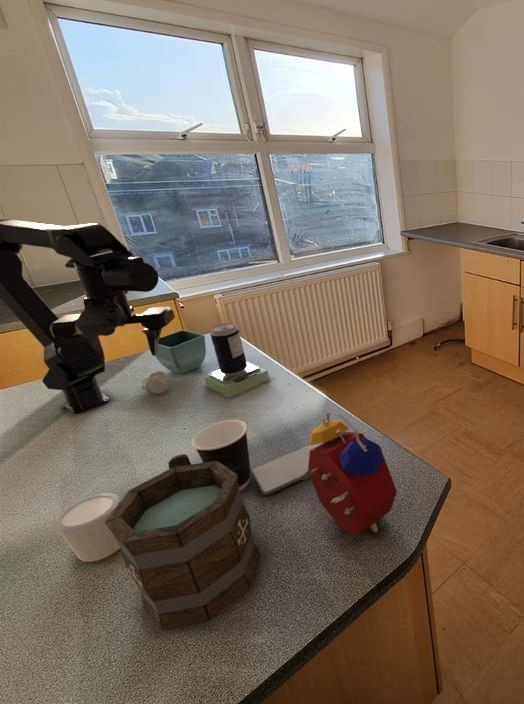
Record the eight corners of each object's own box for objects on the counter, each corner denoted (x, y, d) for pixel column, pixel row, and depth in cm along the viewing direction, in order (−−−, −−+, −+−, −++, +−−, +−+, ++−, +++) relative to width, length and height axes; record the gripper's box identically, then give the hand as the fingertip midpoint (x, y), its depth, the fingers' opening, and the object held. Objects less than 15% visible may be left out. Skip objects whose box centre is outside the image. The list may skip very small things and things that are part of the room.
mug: (268, 590, 58) (244, 506, 53) (141, 654, 51) (97, 564, 45) (248, 500, 73) (228, 427, 67) (147, 539, 66) (114, 461, 60)
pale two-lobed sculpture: (148, 388, 107) (170, 377, 109) (148, 402, 101) (171, 390, 103) (136, 375, 105) (159, 364, 107) (135, 389, 99) (159, 376, 101)
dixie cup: (228, 507, 72) (212, 454, 67) (197, 492, 74) (180, 440, 70) (270, 476, 78) (257, 426, 74) (240, 463, 81) (226, 415, 77)
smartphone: (349, 454, 83) (263, 494, 73) (349, 459, 83) (264, 498, 73) (330, 435, 88) (249, 468, 78) (331, 438, 88) (250, 473, 79)
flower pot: (213, 364, 117) (205, 334, 113) (180, 379, 109) (170, 348, 106) (191, 358, 119) (182, 329, 116) (157, 373, 112) (147, 342, 108)
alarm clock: (401, 526, 69) (390, 422, 61) (354, 565, 62) (335, 454, 55) (347, 484, 77) (331, 388, 69) (300, 515, 70) (277, 412, 63)
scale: (206, 386, 106) (203, 375, 105) (246, 369, 114) (244, 359, 113) (229, 398, 102) (226, 387, 100) (269, 379, 110) (267, 369, 109)
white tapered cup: (98, 570, 61) (80, 534, 58) (60, 561, 62) (40, 525, 59) (145, 530, 67) (131, 496, 64) (109, 523, 68) (94, 489, 66)
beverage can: (242, 363, 110) (231, 320, 106) (251, 370, 107) (241, 326, 102) (217, 371, 106) (205, 327, 102) (226, 379, 103) (214, 333, 98)
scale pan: (208, 375, 105) (207, 373, 105) (242, 362, 112) (242, 360, 112) (225, 384, 102) (225, 382, 102) (260, 369, 109) (259, 367, 109)
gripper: (16, 307, 76) (50, 383, 82) (143, 297, 82) (166, 369, 88) (53, 288, 86) (82, 357, 92) (165, 280, 92) (185, 346, 98)
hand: (129, 357), depth 92 cm, fingers open, 9 cm apart
